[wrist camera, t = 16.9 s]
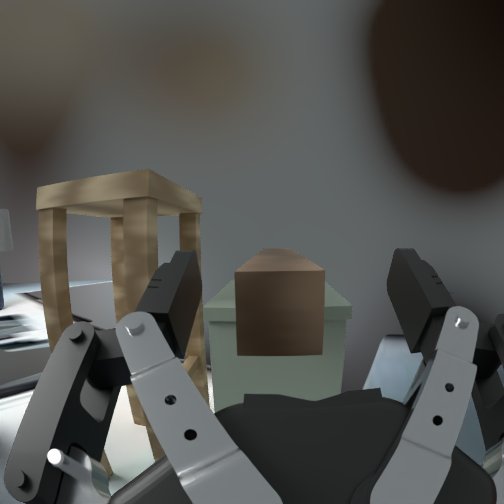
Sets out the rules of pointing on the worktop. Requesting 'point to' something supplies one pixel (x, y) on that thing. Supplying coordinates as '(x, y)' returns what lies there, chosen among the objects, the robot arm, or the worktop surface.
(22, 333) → the worktop surface
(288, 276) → the tan cardboard block
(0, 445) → the worktop surface
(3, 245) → the lamp
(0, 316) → the worktop surface
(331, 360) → the pale green block
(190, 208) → the stool
